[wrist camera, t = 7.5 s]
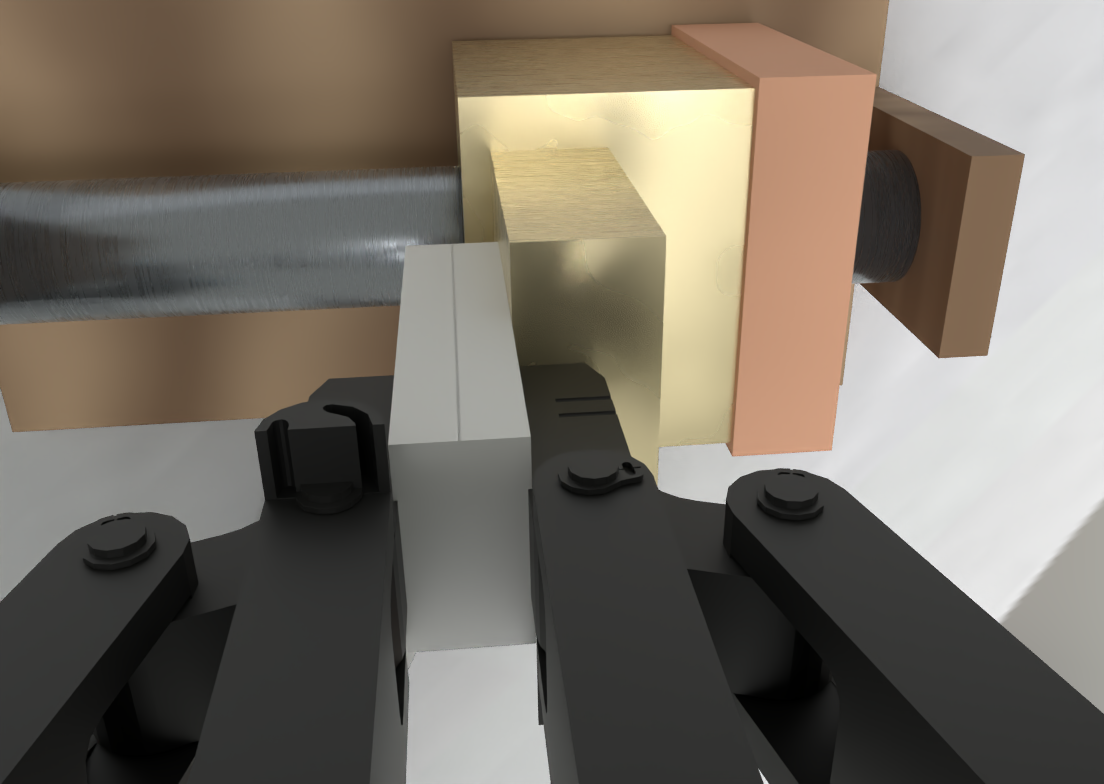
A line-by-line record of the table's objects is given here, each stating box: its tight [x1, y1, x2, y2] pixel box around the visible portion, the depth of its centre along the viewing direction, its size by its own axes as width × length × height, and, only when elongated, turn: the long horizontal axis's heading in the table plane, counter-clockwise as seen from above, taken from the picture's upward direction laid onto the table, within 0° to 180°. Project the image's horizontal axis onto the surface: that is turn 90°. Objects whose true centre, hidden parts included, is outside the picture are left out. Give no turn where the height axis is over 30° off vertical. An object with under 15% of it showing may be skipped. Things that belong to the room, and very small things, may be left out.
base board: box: [0, 0, 1025, 432], centre depth 23 cm, size 22×12×8 cm, turn 91°
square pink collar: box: [671, 23, 877, 456], centre depth 22 cm, size 2×7×7 cm, turn 1°
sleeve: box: [452, 35, 756, 484], centre depth 20 cm, size 5×7×12 cm
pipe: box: [0, 150, 921, 325], centre depth 22 cm, size 21×3×3 cm, turn 91°
